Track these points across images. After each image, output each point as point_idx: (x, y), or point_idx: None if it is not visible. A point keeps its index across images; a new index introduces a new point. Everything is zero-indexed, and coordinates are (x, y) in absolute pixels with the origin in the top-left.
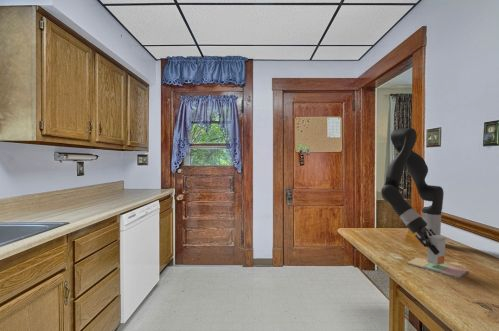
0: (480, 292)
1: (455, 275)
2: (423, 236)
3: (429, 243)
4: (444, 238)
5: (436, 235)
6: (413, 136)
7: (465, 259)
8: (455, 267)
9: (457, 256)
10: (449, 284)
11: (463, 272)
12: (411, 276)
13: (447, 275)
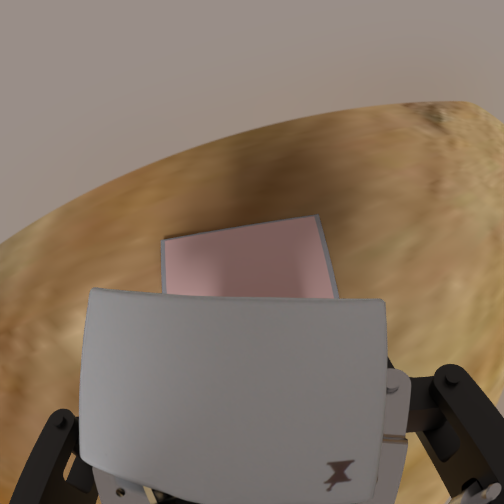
0: (368, 132)
1: (311, 232)
2: (502, 463)
3: (450, 373)
4: (138, 294)
5: (128, 452)
6: None
7: (15, 320)
8: (168, 293)
9: (7, 355)
10: (419, 210)
11: (218, 234)
12: (488, 334)
13: (330, 266)
